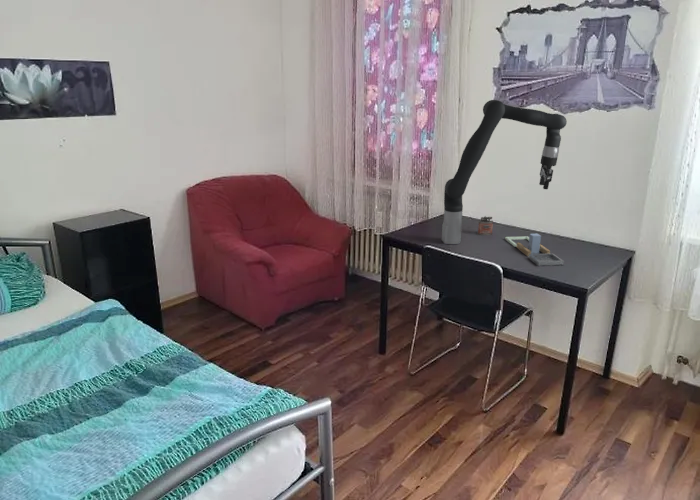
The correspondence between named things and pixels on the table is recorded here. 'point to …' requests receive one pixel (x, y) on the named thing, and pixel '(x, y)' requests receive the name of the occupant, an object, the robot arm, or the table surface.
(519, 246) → the rail channel
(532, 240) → the block
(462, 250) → the table surface
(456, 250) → the table surface
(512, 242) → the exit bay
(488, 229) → the lighter
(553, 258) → the tray
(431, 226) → the table surface
